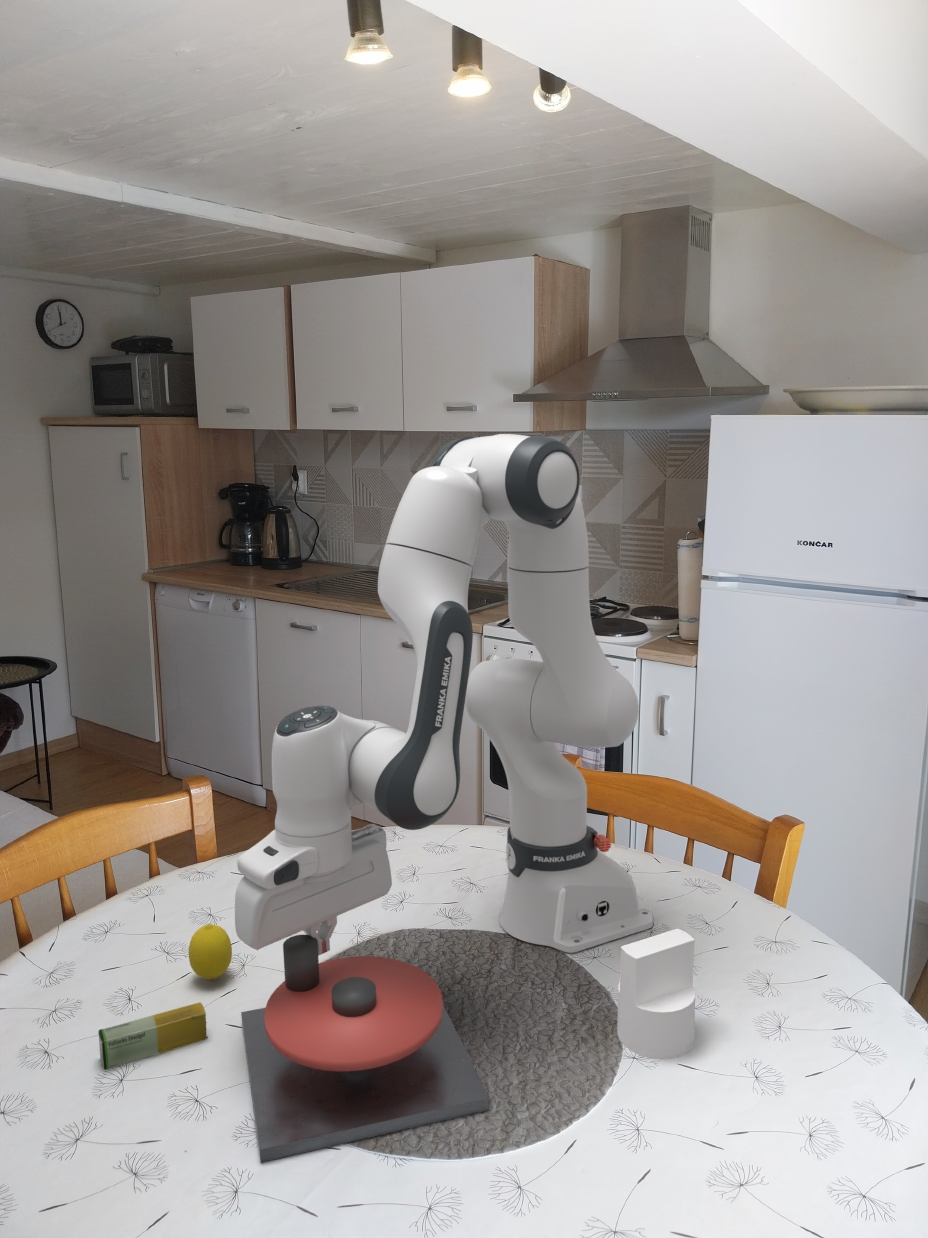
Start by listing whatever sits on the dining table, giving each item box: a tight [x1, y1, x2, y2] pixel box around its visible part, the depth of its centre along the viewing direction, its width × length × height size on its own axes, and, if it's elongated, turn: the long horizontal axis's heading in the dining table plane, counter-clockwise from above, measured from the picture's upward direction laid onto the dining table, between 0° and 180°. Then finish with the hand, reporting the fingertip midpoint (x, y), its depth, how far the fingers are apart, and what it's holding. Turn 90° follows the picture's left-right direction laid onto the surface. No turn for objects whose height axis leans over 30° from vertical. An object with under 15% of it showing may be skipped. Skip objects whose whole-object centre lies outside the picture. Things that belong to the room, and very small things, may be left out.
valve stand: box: [240, 1004, 490, 1163], centre depth 109 cm, size 24×24×6 cm
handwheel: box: [264, 934, 444, 1071], centre depth 108 cm, size 20×20×6 cm
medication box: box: [97, 1001, 209, 1071], centre depth 113 cm, size 12×3×4 cm, turn 118°
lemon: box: [188, 923, 233, 981], centre depth 126 cm, size 6×6×8 cm
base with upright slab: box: [616, 928, 696, 1060], centre depth 113 cm, size 9×9×12 cm
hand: (320, 952), depth 115 cm, fingers closed
